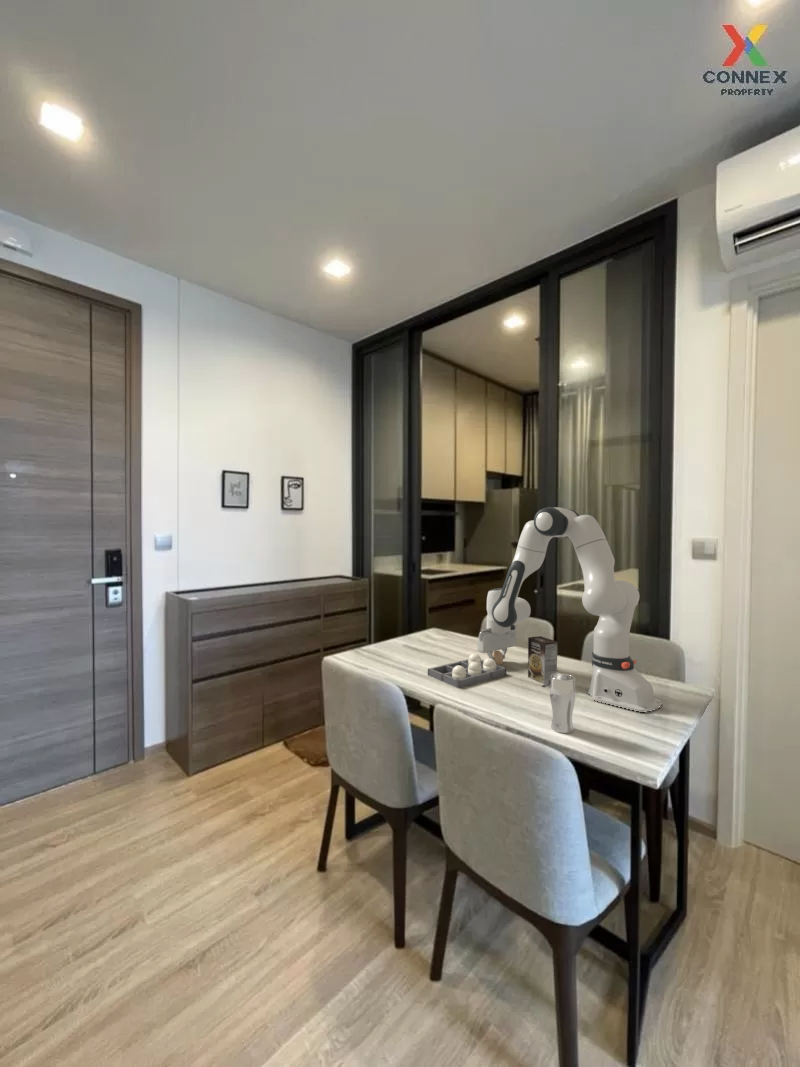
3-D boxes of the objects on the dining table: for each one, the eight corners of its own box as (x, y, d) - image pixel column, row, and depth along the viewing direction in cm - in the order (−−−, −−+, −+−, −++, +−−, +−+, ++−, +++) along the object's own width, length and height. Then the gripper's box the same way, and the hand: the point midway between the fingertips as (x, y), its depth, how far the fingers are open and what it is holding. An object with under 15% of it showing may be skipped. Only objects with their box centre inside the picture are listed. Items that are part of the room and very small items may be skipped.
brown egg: (505, 665, 191) (505, 651, 191) (497, 667, 188) (497, 653, 188) (496, 662, 195) (496, 648, 195) (488, 664, 192) (488, 650, 192)
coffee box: (527, 679, 174) (527, 637, 174) (540, 677, 177) (540, 635, 176) (544, 687, 166) (544, 642, 165) (557, 684, 168) (558, 640, 168)
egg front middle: (484, 678, 172) (484, 662, 172) (474, 680, 169) (474, 664, 169) (474, 674, 176) (474, 659, 176) (465, 677, 173) (465, 661, 173)
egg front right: (498, 674, 177) (498, 658, 177) (489, 676, 174) (489, 661, 174) (489, 670, 181) (489, 655, 181) (480, 673, 178) (480, 657, 178)
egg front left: (468, 682, 168) (468, 666, 168) (458, 685, 165) (458, 668, 165) (459, 678, 172) (459, 662, 172) (449, 681, 169) (449, 665, 169)
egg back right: (483, 668, 183) (483, 654, 183) (474, 671, 181) (474, 656, 180) (474, 665, 188) (474, 651, 187) (465, 668, 185) (465, 653, 184)
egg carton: (506, 677, 177) (506, 668, 176) (458, 690, 162) (458, 681, 162) (474, 666, 190) (474, 657, 190) (427, 677, 176) (427, 668, 176)
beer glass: (569, 723, 136) (569, 672, 135) (579, 734, 129) (579, 680, 128) (545, 723, 135) (546, 673, 135) (554, 734, 128) (555, 681, 128)
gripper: (485, 631, 183) (485, 666, 183) (519, 625, 195) (519, 657, 195) (473, 628, 188) (473, 662, 188) (507, 622, 200) (507, 654, 200)
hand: (497, 660), depth 192 cm, fingers closed on brown egg, 5 cm apart
